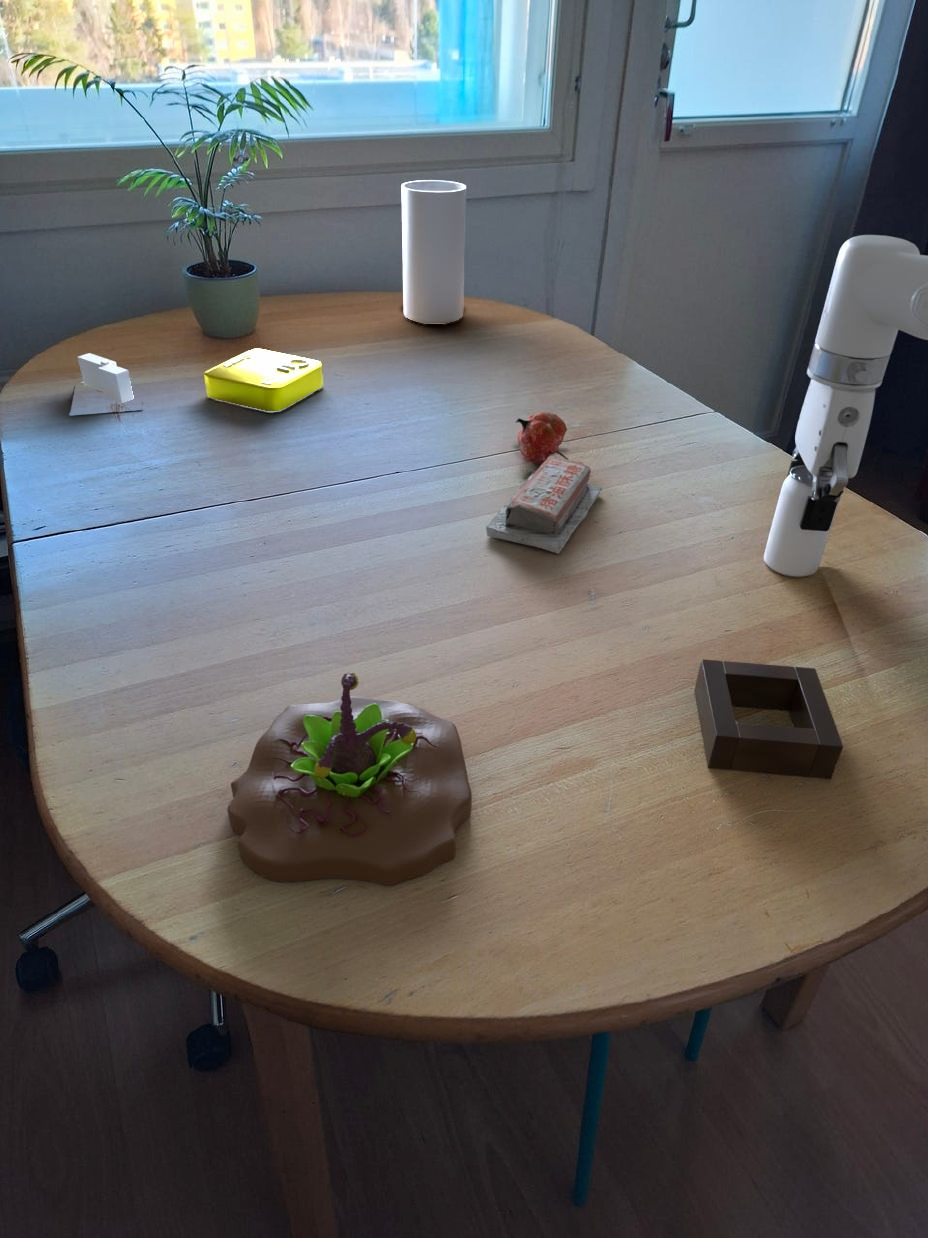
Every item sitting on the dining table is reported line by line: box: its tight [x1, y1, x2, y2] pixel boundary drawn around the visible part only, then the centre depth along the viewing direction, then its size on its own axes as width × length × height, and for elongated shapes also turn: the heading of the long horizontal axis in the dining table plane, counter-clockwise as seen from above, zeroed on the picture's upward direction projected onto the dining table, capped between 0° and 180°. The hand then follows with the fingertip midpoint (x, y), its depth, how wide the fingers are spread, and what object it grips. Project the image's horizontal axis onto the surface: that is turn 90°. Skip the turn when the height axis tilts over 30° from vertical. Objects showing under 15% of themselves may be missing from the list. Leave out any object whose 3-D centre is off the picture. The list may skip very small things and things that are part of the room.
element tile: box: [203, 348, 324, 411], centre depth 146 cm, size 15×15×5 cm
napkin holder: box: [77, 352, 134, 403], centre depth 142 cm, size 15×11×6 cm
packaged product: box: [485, 456, 603, 555], centre depth 113 cm, size 18×5×10 cm
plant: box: [227, 672, 473, 886], centre depth 71 cm, size 20×20×11 cm
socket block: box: [694, 658, 844, 780], centre depth 81 cm, size 11×11×4 cm
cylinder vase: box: [401, 179, 467, 323], centre depth 176 cm, size 12×12×25 cm
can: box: [763, 465, 840, 579], centre depth 103 cm, size 6×6×12 cm
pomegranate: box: [515, 411, 570, 465], centre depth 127 cm, size 7×7×10 cm
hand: (805, 509), depth 102 cm, fingers open, 8 cm apart
